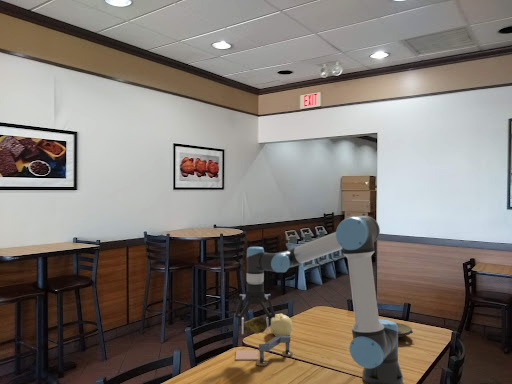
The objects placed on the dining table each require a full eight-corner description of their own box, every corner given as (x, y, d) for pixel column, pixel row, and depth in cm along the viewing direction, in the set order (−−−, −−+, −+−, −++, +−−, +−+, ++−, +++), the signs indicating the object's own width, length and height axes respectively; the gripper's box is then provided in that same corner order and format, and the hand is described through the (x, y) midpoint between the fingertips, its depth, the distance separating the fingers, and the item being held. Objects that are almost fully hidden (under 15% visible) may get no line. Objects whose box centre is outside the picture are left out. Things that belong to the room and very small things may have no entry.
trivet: (258, 360, 181) (258, 358, 181) (235, 360, 181) (235, 358, 181) (257, 351, 191) (257, 350, 191) (236, 351, 191) (236, 350, 191)
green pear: (257, 328, 188) (257, 310, 188) (270, 337, 177) (269, 318, 177) (240, 331, 185) (240, 313, 185) (252, 340, 173) (252, 321, 173)
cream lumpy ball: (269, 330, 221) (269, 310, 221) (292, 331, 220) (292, 311, 220) (268, 338, 209) (268, 316, 209) (292, 339, 208) (292, 317, 208)
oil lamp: (387, 347, 196) (386, 331, 196) (349, 329, 224) (349, 314, 224) (423, 341, 205) (423, 325, 205) (382, 324, 232) (382, 310, 232)
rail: (295, 354, 187) (295, 336, 187) (262, 367, 173) (262, 348, 173) (284, 350, 192) (284, 333, 192) (251, 362, 178) (251, 343, 178)
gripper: (280, 280, 185) (280, 330, 185) (229, 280, 184) (229, 330, 184) (281, 284, 177) (281, 336, 177) (228, 284, 177) (228, 336, 177)
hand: (255, 333), depth 181 cm, fingers closed on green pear, 10 cm apart
